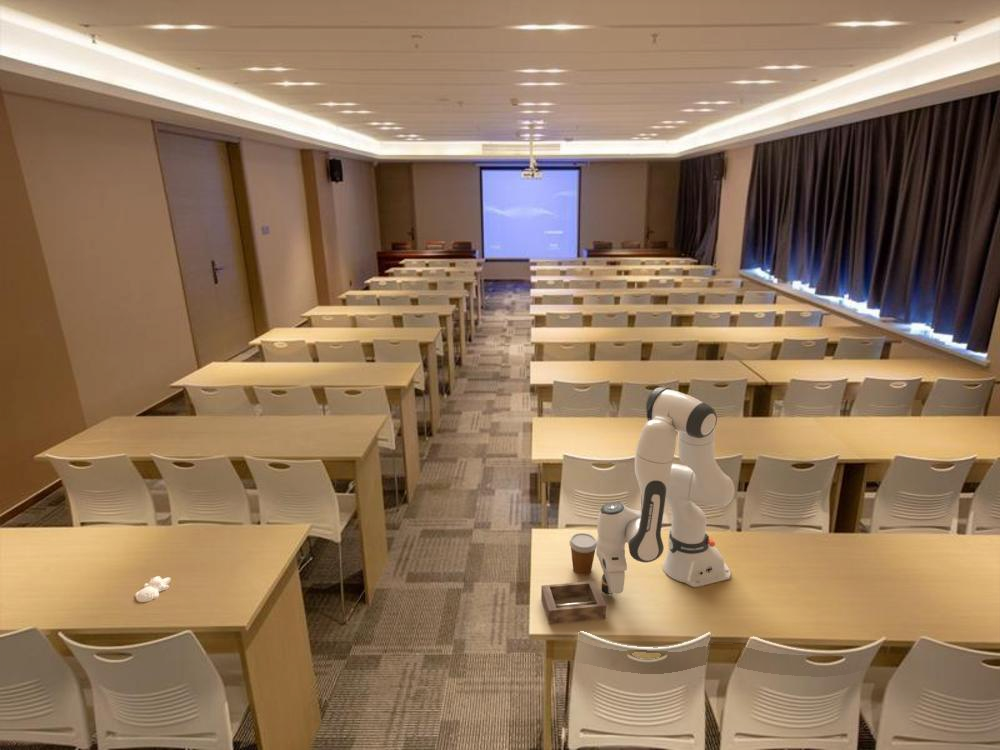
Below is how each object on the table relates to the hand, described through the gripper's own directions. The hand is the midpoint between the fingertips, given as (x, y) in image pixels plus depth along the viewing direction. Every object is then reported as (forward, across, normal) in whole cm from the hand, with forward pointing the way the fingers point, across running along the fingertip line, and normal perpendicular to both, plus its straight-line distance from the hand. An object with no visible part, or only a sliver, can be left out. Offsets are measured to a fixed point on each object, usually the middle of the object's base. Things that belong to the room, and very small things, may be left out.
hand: (608, 586), depth 198 cm
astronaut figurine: (+2, -14, -151) cm, 151 cm away
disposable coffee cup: (+4, -14, -6) cm, 16 cm away
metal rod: (0, +8, -13) cm, 15 cm away
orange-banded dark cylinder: (+2, 0, 0) cm, 2 cm away
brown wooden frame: (+3, +6, -13) cm, 14 cm away
